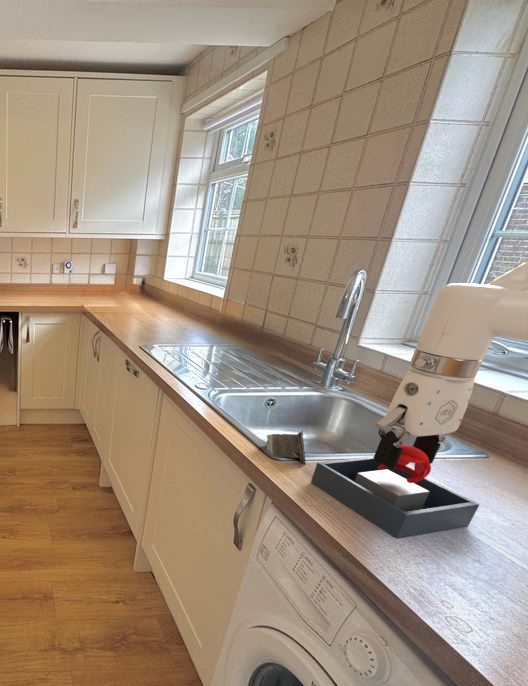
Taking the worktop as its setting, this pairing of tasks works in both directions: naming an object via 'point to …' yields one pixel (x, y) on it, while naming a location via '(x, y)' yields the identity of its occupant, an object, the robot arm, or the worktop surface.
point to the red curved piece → (413, 456)
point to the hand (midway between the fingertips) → (402, 461)
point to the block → (393, 489)
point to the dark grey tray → (435, 515)
